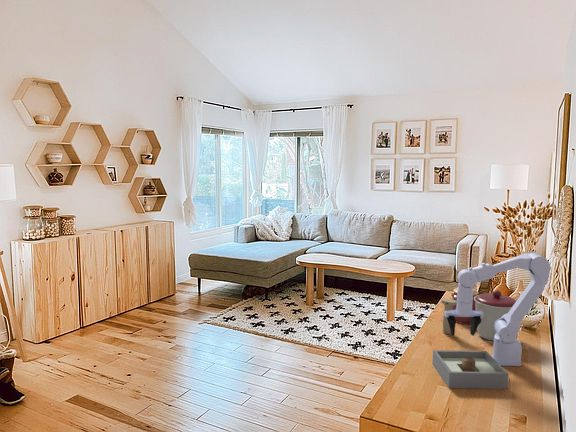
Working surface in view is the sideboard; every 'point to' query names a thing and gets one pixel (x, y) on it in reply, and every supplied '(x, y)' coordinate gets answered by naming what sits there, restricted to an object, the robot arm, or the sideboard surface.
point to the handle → (447, 307)
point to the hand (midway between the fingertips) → (462, 334)
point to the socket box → (483, 377)
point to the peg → (468, 364)
